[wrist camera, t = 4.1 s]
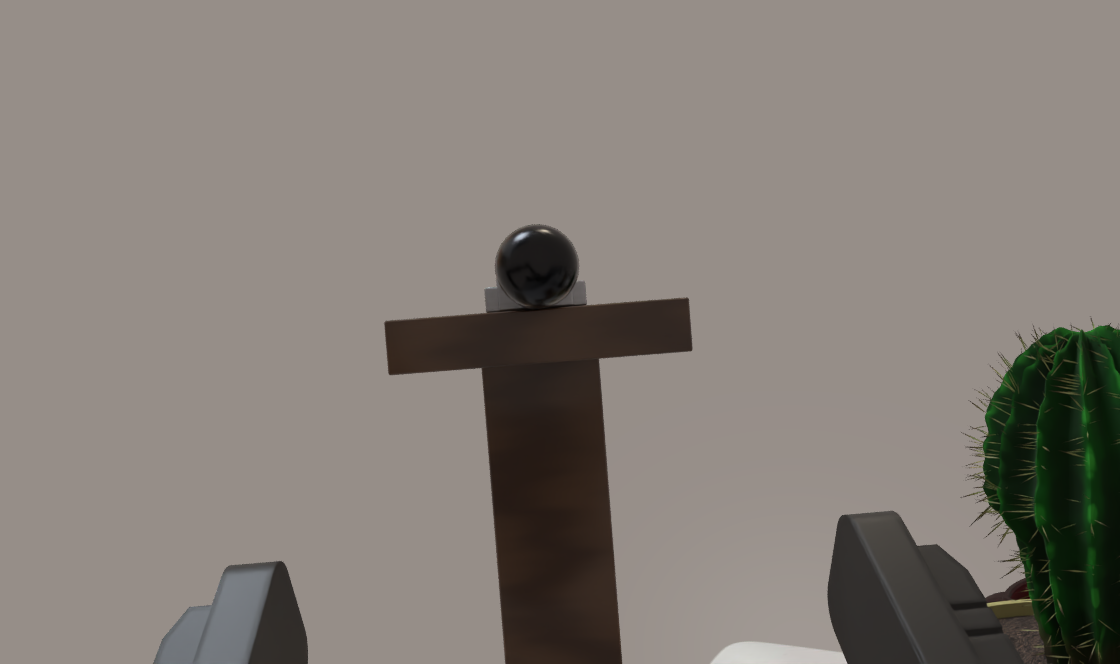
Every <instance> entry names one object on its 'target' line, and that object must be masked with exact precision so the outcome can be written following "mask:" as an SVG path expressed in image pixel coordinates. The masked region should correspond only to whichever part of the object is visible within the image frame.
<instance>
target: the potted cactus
mask: <svg viewBox="0 0 1120 664" xmlns="http://www.w3.org/2000/svg"><path fill="white" fill-rule="evenodd" d="M1091 321H1092V320H1091ZM1092 325H1093V328H1094V324H1093V322H1092ZM1076 329H1078V328H1076ZM1078 330H1080V329H1078ZM1035 334H1036V337H1037V333H1036V331H1035ZM1018 337H1019V336H1018ZM1033 337H1034V336H1033ZM1019 338H1020V339H1021V342H1022V344H1023V347H1024V349H1025V346H1024V344H1025V343H1024V342H1023V340H1022V338H1021V337H1019ZM1034 339H1036V338H1034ZM1037 339H1038V337H1037ZM1037 339H1036V340H1037ZM1036 340H1035V341H1036ZM1003 357H1004V356H1003ZM1001 358H1002V357H1001ZM1004 359H1005V358H1004ZM1002 360H1003V359H1002ZM1003 361H1004V360H1003ZM1005 361H1006V362H1007V360H1006V359H1005ZM1005 361H1004V363H1005V364H1006V362H1005ZM1007 363H1008V362H1007ZM1009 364H1010V363H1008V365H1009ZM1006 365H1007V364H1006ZM1008 365H1007V366H1008ZM1010 365H1011V364H1010ZM1010 365H1009V366H1010ZM1009 366H1008V367H1009ZM1011 366H1012V365H1011ZM1009 368H1010V367H1009ZM995 371H996V370H995ZM996 372H997V371H996ZM997 373H998V372H997ZM998 374H999V373H998ZM999 375H1000V374H999ZM1000 376H1001V375H1000ZM1000 378H1001V377H1000ZM1001 379H1002V380H1003V382H1002V384H1001V386H1000V388H999V389H998V390H997V391H996V392H995V393H994V395H993V398H992V399H990V404H989V406H988V408H987V413H986V415H985V421H986V424H987V427H988V431H989V432H988V434H986V433H987V432H985V433H984V431H982V430H980V431H981V432H983V433H984V434H986V435H987V436H984V437H987V438H986V439H985V441H984V442H982V441H980V442H982V443H983V447H970V448H977V449H978V448H983V450H984V452H983V451H978V450H975V451H978V452H982V453H985V456H979V455H984V454H978V455H977V456H979V457H985V460H984V464H983V467H982V468H983V471H984V474H985V476H984V477H985V479H984V477H982V476H980V477H977V476H975V477H976V478H980V479H981V478H983V479H984V480H985V482H984V485H983V486H982V487H976V488H983V489H984V492H985V493H984V494H986V495H987V497H988V498H986V497H985V498H986V499H987V500H988V501H985V502H988V503H989V505H990V506H989V507H988V508H987V509H986V510H985V511H984V512H982V514H983V515H984V514H985V513H990V512H991V513H992V512H995V513H997V512H998V513H999V514H1000V515H999V516H998V518H999V517H1000V516H1002V517H1003V519H1004V520H1003V522H1004V521H1005V523H1006V524H1007V526H1008V527H1009V528H1006V529H1008V530H1009V529H1010V528H1011V529H1012V530H1013V532H1014V533H1015V535H1016V541H1017V544H1018V546H1019V549H1020V551H1018V552H1020V554H1017V555H1018V556H1016V557H1019V556H1020V557H1019V558H1021V560H1015V559H1018V558H1014V559H1010V560H1006V561H1022V563H1023V564H1024V569H1025V572H1023V574H1024V573H1025V577H1026V581H1027V582H1026V583H1027V587H1028V589H1027V590H1025V591H1029V596H1030V598H1031V599H1023V598H1026V597H1023V598H1021V599H1018V600H1009V601H1000V602H992V603H987V606H988V608H991V609H992V610H993V612H994V614H995V615H996V617H997V619H998V620H999V622H1000V624H1001V625H1002V629H1003V632H1004V634H1006V633H1007V635H1008V637H1009V638H1010V640H1011V641H1012V643H1013V645H1014V646H1015V648H1016V650H1017V651H1018V653H1019V655H1020V656H1021V658H1022V659H1023V661H1024V663H1025V664H1120V330H1116V329H1114V328H1112V327H1110V325H1106V326H1099V327H1097V328H1094V329H1093V330H1091V331H1088V332H1084V331H1083V330H1080V332H1075V331H1070V330H1068V329H1065V328H1062V327H1059V328H1057V329H1056V330H1055V329H1054V330H1053V331H1052V332H1050V333H1049V334H1046V335H1043V336H1042V337H1041V338H1040V339H1039V340H1037V341H1036V342H1035V343H1033V344H1032V345H1031V346H1030V347H1029V348H1028V349H1027V350H1026V349H1025V352H1024V353H1022V354H1020V355H1019V356H1018V357H1017V358H1016V360H1015V361H1014V363H1013V366H1012V367H1011V368H1010V370H1009V371H1008V372H1007V373H1006V374H1005V376H1004V378H1001ZM979 393H980V392H979ZM981 394H982V393H981ZM983 395H984V394H983ZM984 396H985V395H984ZM986 397H987V396H986ZM981 403H982V401H981ZM972 404H974V403H972ZM974 405H975V404H974ZM984 405H985V404H984ZM975 406H976V405H975ZM985 406H986V405H985ZM976 407H978V406H976ZM978 408H979V407H978ZM979 409H980V408H979ZM981 410H982V409H981ZM982 411H983V410H982ZM983 412H984V411H983ZM982 427H983V426H982ZM977 428H980V427H977ZM973 429H976V428H973ZM978 430H979V429H978ZM965 435H966V434H965ZM967 436H968V435H967ZM969 437H971V436H969ZM971 438H973V439H975V440H978V439H976V438H974V437H971ZM978 441H979V440H978ZM975 443H976V442H975ZM971 450H972V449H971ZM981 450H982V449H981ZM979 462H981V461H979ZM976 463H978V462H976ZM972 465H973V464H972ZM977 466H978V465H977ZM979 467H981V466H979ZM980 473H982V472H980ZM980 473H978V474H980ZM974 475H977V474H974ZM974 475H972V476H974ZM970 476H971V475H970ZM973 479H974V478H973ZM978 480H979V479H978ZM981 492H983V491H981ZM981 492H977V493H973V494H970V495H974V494H978V493H981ZM970 495H967V496H970ZM980 496H981V495H980ZM965 497H966V496H965ZM986 499H983V500H980V501H984V500H986ZM980 501H979V502H980ZM990 507H992V509H994V510H995V511H991V510H992V509H990V510H989V508H990ZM988 510H989V511H988ZM998 513H997V514H998ZM982 514H981V515H982ZM981 515H980V516H981ZM983 515H982V516H983ZM980 516H979V517H980ZM982 516H981V517H982ZM979 517H978V518H979ZM978 518H977V519H978ZM977 519H976V520H977ZM976 520H975V521H976ZM996 520H997V519H996ZM975 521H974V522H975ZM998 524H999V523H998ZM1000 524H1002V523H1000ZM1000 524H999V525H1000ZM996 525H997V524H996ZM999 525H998V526H999ZM998 526H997V527H998ZM997 527H996V528H997ZM996 528H995V529H996ZM995 529H994V530H995ZM994 530H992V532H993V531H994ZM1008 530H1007V531H1006V532H1005V533H1004V534H1003V536H1002V537H1003V538H1002V540H1003V539H1004V537H1005V536H1006V534H1008V533H1007V532H1008ZM1013 532H1009V533H1013ZM990 533H991V532H990ZM990 533H989V534H990ZM989 534H988V535H989ZM986 537H987V536H986ZM1002 540H1001V542H1002ZM1001 542H1000V543H1001ZM1004 562H1005V561H1004ZM1019 565H1020V564H1019ZM1017 566H1018V565H1017ZM1017 566H1016V567H1014V568H1015V569H1017V568H1019V567H1020V566H1018V567H1017ZM1015 569H1013V570H1012V571H1014V570H1015ZM1012 571H1010V572H1009V573H1011V572H1012ZM1009 573H1008V574H1009ZM1006 575H1007V574H1006ZM1025 591H1020V592H1025ZM1016 593H1018V592H1016ZM1029 596H1027V597H1029Z"/></svg>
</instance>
